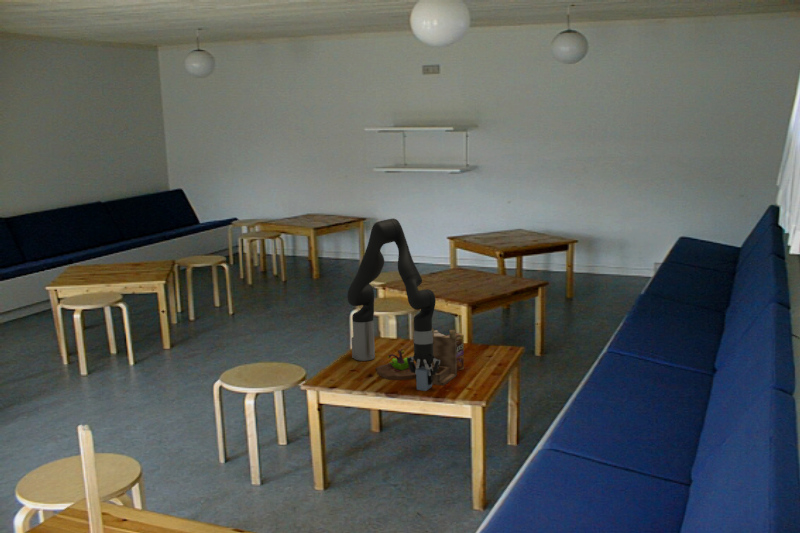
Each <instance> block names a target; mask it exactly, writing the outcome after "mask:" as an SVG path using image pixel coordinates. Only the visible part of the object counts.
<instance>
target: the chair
mask: <svg viewBox="0 0 800 533" xmlns="http://www.w3.org/2000/svg"><path fill="white" fill-rule="evenodd" d="M434 331H435V330H434V328H433V327H432V333H433V356H434V358H435V359H437V360H439V359H440V360H441V362H440V366H439V369H438V372H437V373H436V374H435V375H433V382H432V385H435V386H436V385H437V386H446V384H448V383H449V382H450V381H452V380H453V379H455V377H457V375H458V371H457V357H456V329H450V330H449V335H450V337H445V336H446V335H445V336H434ZM431 364H432V368H433V369H434V366H435V365H434V361H433V362H432V363H431Z"/></svg>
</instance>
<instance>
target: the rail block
mask: <svg viewBox="0 0 800 533" xmlns="http://www.w3.org/2000/svg"><path fill="white" fill-rule="evenodd" d="M432 370H433V368H432ZM416 381H417V382H416ZM415 382H416V390H417V391H424V392H426V391H428V390H430V389H431V388H432V387H433V384H431V385H428V371H427V370H426V368H425V367H421V368H419V369H417V370H416V378H415Z"/></svg>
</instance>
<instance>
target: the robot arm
mask: <svg viewBox="0 0 800 533" xmlns="http://www.w3.org/2000/svg"><path fill="white" fill-rule="evenodd" d="M391 243H395V244H396V247H397V250H398V260H397V271H398V274H399V276H400V278H401V281H402V282H403V284H404V288H405V293H406V296H407V301H408V303H409V306H410V307H411V308H412V309H414V310H416V311H417V310H420V311H419V313H417V314H416V315H415V316H414V317H413V356H409V357H408V358H407V357H406V358H407V361H408V364H409V367H410V370H411V372H412V373H415V374H416V370H417V369H419V368H421V367H425V368H426V370H427V371H428V385H431V384H432V382H433V375H435V374H436V373H437V372H438V369H439V366H440V362H441V360H440V359H439V360H437V359H435V358H434V356H433V333H432V328H433V316H434V311H435V307H436V303H437V302H436V299H437V298H436V295H435V293H434V292H433V291H432V290H431V289H429V288H428V289H422V290H419V289H418V287H419V286H420V285H421V284H422V283H423V279H422V276H421V273H420V271H419V270H418V268H417V266H416V264H415V262H414V259H413V257H412V254H411V252H410V247H409V245H408V241H407V238H406V236H405V232H404V230H403V227H402V224H401V223H400V221H399V220H398V219H397V218H388V219H382V220H379V221H375V222H374V224H373V225H372V228H371V231H370V234H369V239H368V243H367V246H366V248H365V252H364V255H363V257H362V259H361V262H360V264H359V267H358V269H357V272H356V275H355V277H354V278H353V280H352V282H351V284H349V288H348V290H347V293H346V294H347V295H346V298H347V302H348V303H349V305H350V306H352V307H353V306H354V307H360V306H362V307H361V308H360V309H359V310H358V311H356V312H354V313H352V337H351V356H352V357H351V359H352V358H354V359H353V360H356V361H360V362H361V361H365V362H367V361H372V360H374V359H375V358H376V356H375V355H376V352H375V350H376V348H375V326H374V325H375V324H374V323H375V322H374V315H375V292H374V287H373V285H372V284H371V283H372V282H373V281H375V280H376V279H377V278H378V277H379V276H380V274H381V273H382V270H383V268H384V266H385V257H384V255H383V253H382V252H381V250H382V248H383V246H384V245H386V244H391ZM433 361H434V365H435V366H434V369H433V370H432V364H431V363H432V362H433ZM414 363H417V365H416V367H415V364H414ZM415 382H416V383H417V381H416V380H415ZM432 385H433V384H432Z"/></svg>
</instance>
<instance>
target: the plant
mask: <svg viewBox="0 0 800 533" xmlns="http://www.w3.org/2000/svg"><path fill="white" fill-rule="evenodd" d="M397 353H398V356H397V355H396V354H393V353H392V354H388V355H387V357H386V358H387V359H391V357H393V358H392V359H391V361H389V362H388V363H385V364H382V365H379V366H377V367H375V371H376V375H378V376H380V377H381V378H383V379H385V380H387V381H388V380H389V381H391V380H392V381H408V380H416V374H415V373H412V372H411V370H410V367H409V364H408V361H407V358H409V357H405V358H403V354H405V353H406V351H405V350H404V349H403V348H400V349H397ZM414 364H415V367H416V365H417V363H416V362H414Z"/></svg>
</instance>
